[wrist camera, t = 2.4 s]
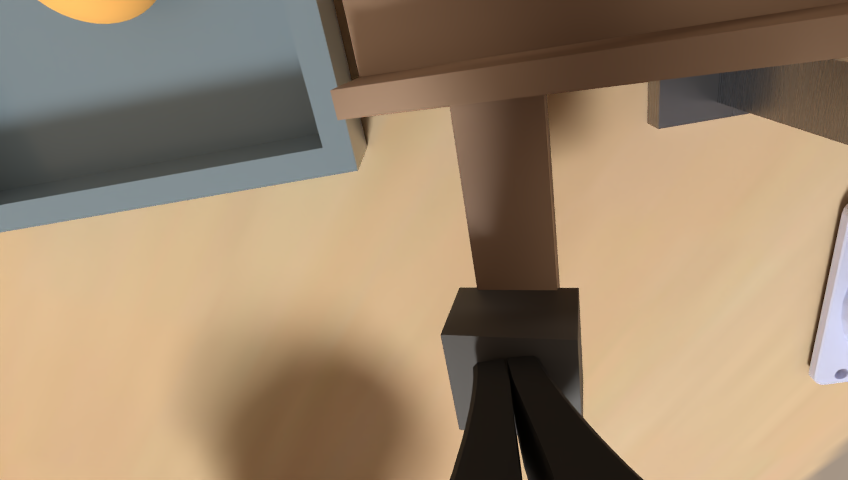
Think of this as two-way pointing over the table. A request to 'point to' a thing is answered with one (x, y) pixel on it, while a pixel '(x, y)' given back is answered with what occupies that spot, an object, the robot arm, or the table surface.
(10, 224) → the tray
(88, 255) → the table surface
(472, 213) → the chute
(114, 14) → the ball
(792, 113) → the chute stand
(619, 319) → the table surface
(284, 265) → the table surface
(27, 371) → the table surface
